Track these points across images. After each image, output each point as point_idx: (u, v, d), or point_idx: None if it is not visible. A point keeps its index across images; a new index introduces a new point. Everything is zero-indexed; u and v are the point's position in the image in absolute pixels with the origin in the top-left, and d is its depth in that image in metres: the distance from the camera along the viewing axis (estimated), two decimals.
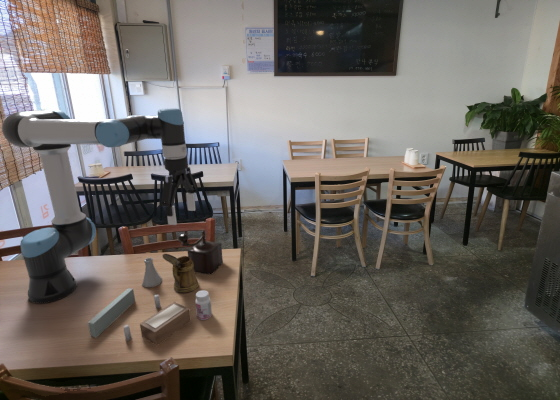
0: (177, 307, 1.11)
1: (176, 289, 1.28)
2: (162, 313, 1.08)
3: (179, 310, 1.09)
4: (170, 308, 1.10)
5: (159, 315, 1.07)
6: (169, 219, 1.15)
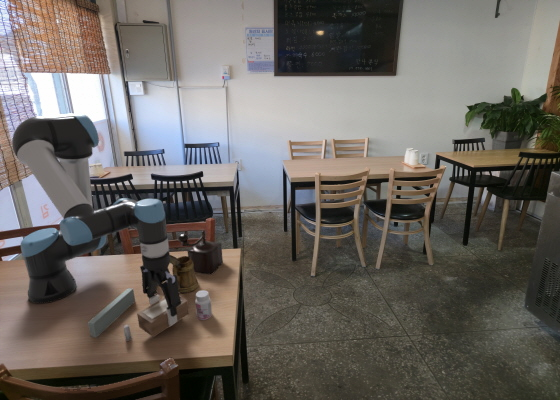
0: None
1: None
2: (160, 304, 1.08)
3: None
4: None
5: (157, 305, 1.07)
6: None
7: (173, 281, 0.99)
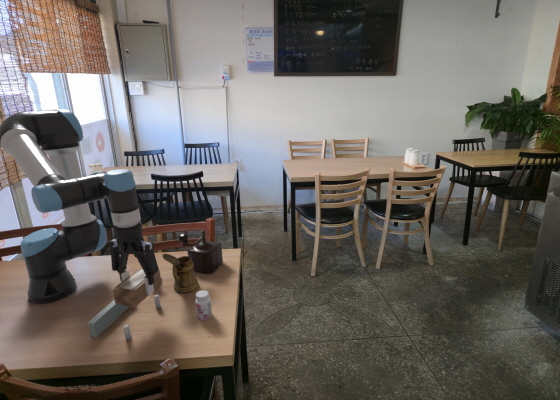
0: None
1: (176, 289, 1.28)
2: (133, 277, 1.08)
3: None
4: (139, 273, 1.10)
5: (130, 279, 1.07)
6: None
7: (150, 247, 1.02)
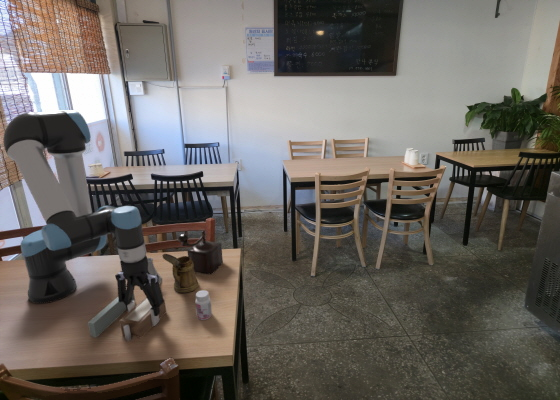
0: None
1: (176, 289, 1.28)
2: (139, 307, 1.11)
3: None
4: (145, 302, 1.14)
5: (136, 310, 1.10)
6: None
7: (156, 281, 1.06)
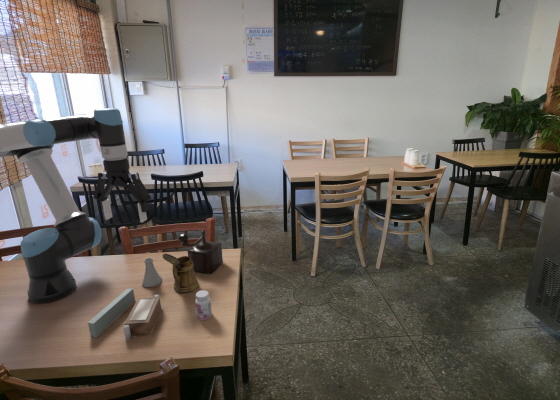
0: (147, 300, 1.15)
1: (176, 289, 1.28)
2: (138, 309, 1.11)
3: (152, 301, 1.14)
4: (141, 303, 1.13)
5: (137, 311, 1.10)
6: None
7: (137, 177, 1.13)
